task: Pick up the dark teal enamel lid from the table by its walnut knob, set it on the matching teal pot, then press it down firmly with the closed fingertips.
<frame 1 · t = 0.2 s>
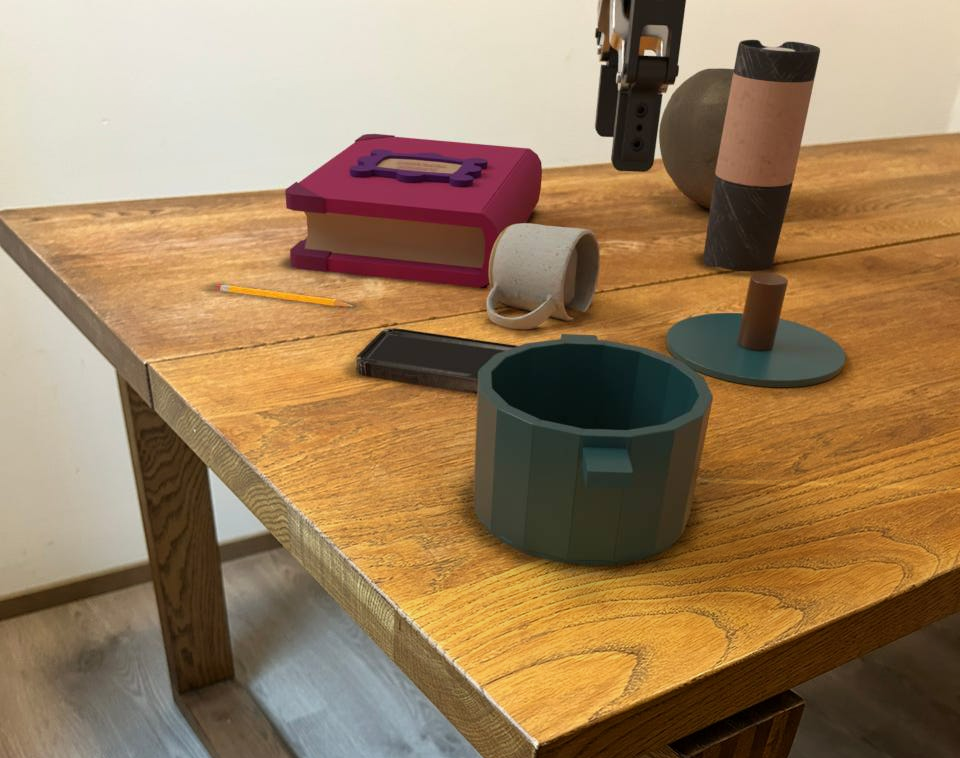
hand: (621, 151, 57), 20 cm above the table, tool pointing down, fingers open, 8 cm apart
ceramic mug: (535, 318, 91), on the table
phone: (457, 372, 80), on the table
pencil: (284, 303, 92), on the table
book: (423, 240, 108), on the table
brown textured sphere: (706, 209, 122), on the table
lid: (753, 351, 84), point 1 cm above the table
pot: (579, 508, 64), on the table
travel mug: (736, 267, 105), on the table
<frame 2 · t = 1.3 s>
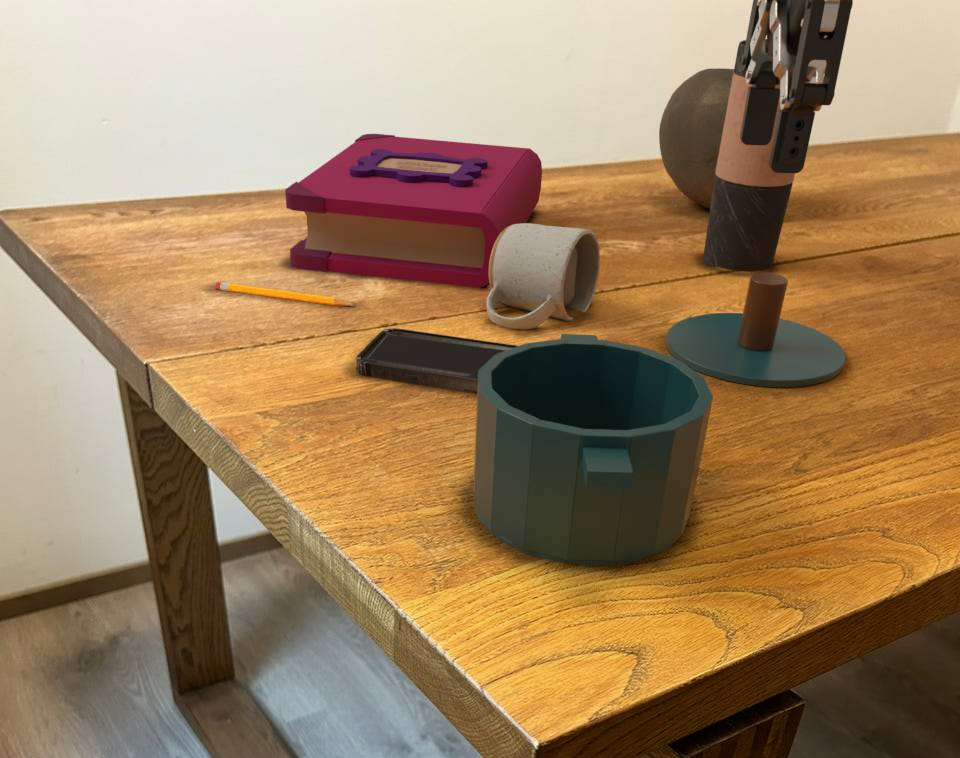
hand: (768, 157, 71), 17 cm above the table, tool pointing down, fingers open, 8 cm apart
nothing on the table moved.
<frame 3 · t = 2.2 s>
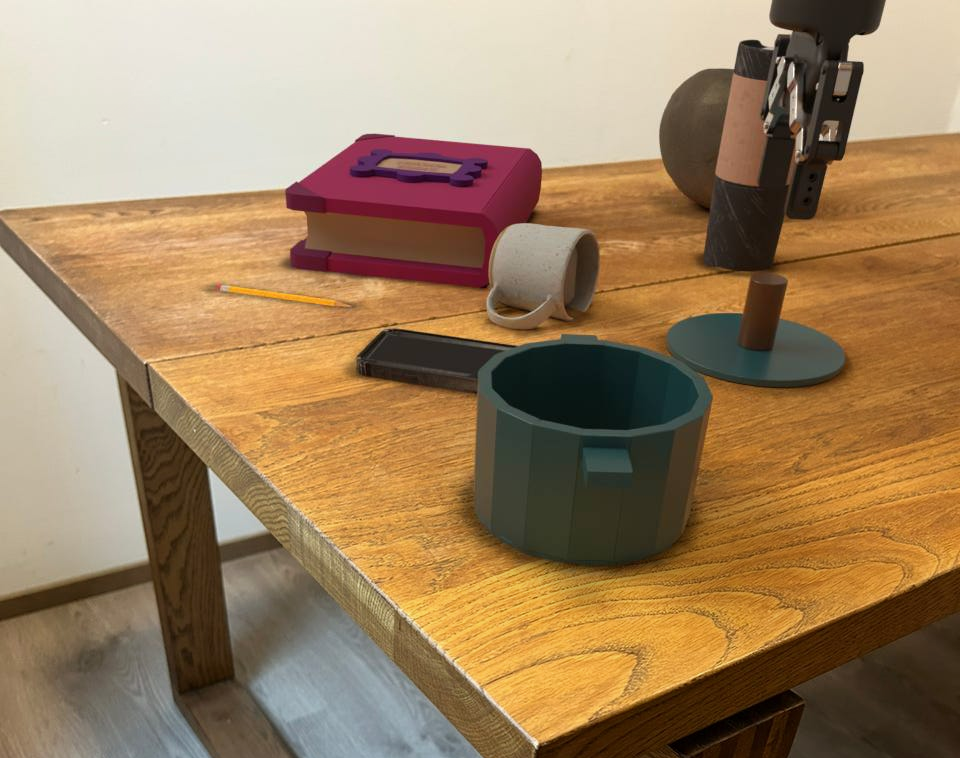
hand: (783, 202, 77), 13 cm above the table, tool pointing down, fingers open, 8 cm apart
nothing on the table moved.
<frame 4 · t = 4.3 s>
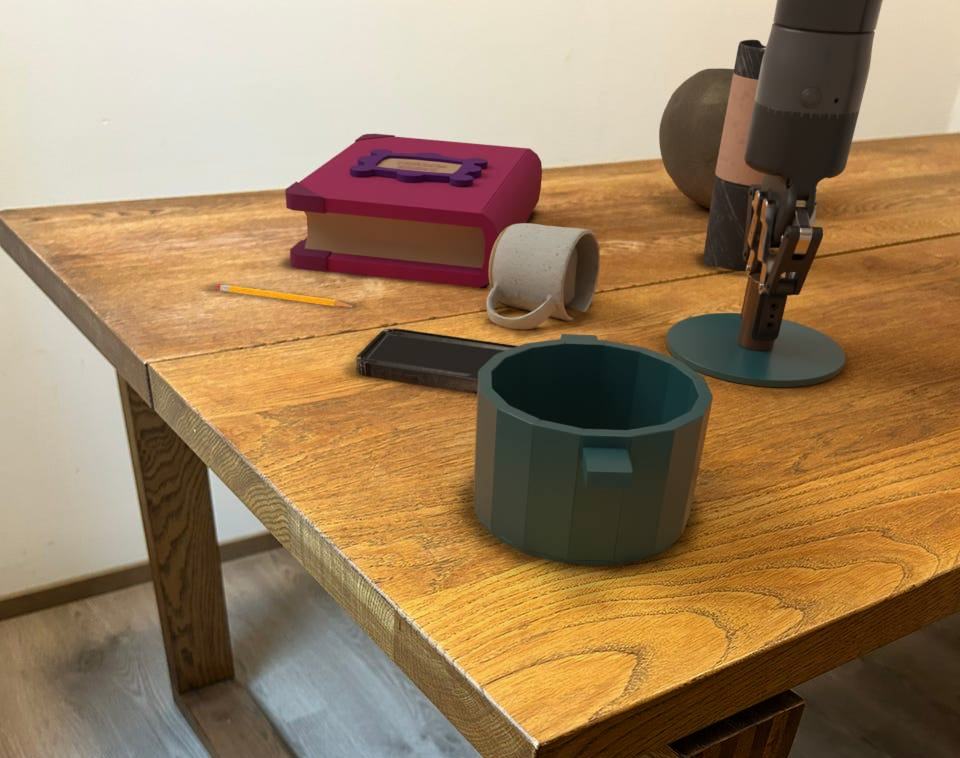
hand: (758, 329, 83), 2 cm above the table, tool pointing down, fingers closed on lid, 3 cm apart
lid: (753, 351, 84), point 1 cm above the table, touching gripper
everything else where it was.
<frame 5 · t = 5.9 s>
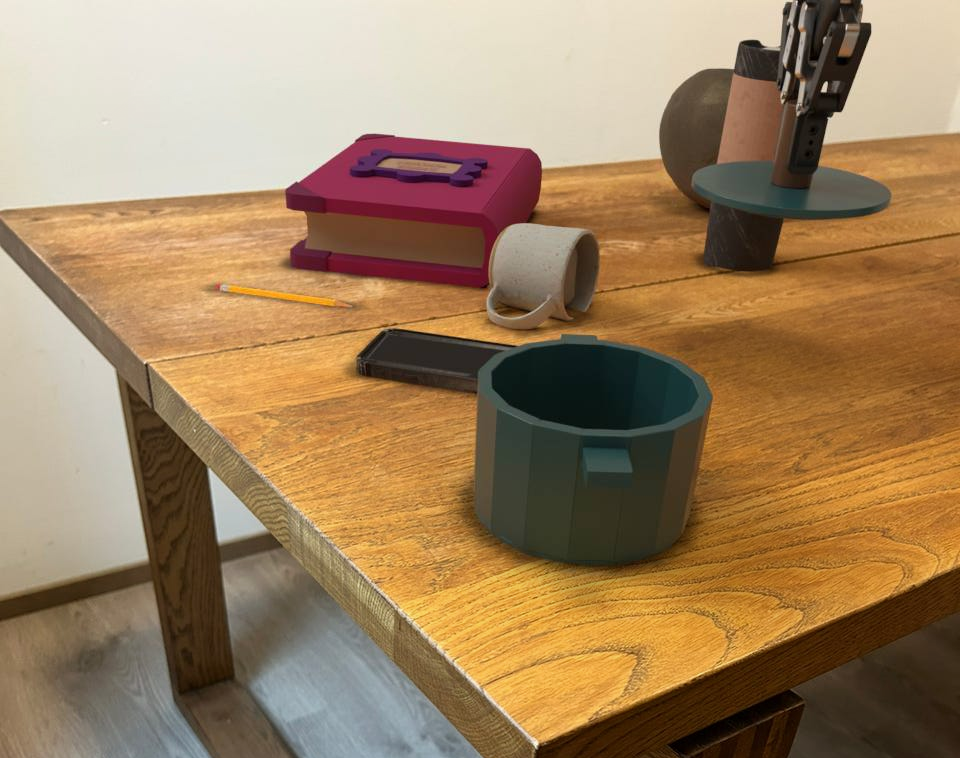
hand: (794, 165, 75), 15 cm above the table, tool pointing down, fingers closed on lid, 3 cm apart
lid: (788, 192, 77), point 13 cm above the table, touching gripper
everything else where it was.
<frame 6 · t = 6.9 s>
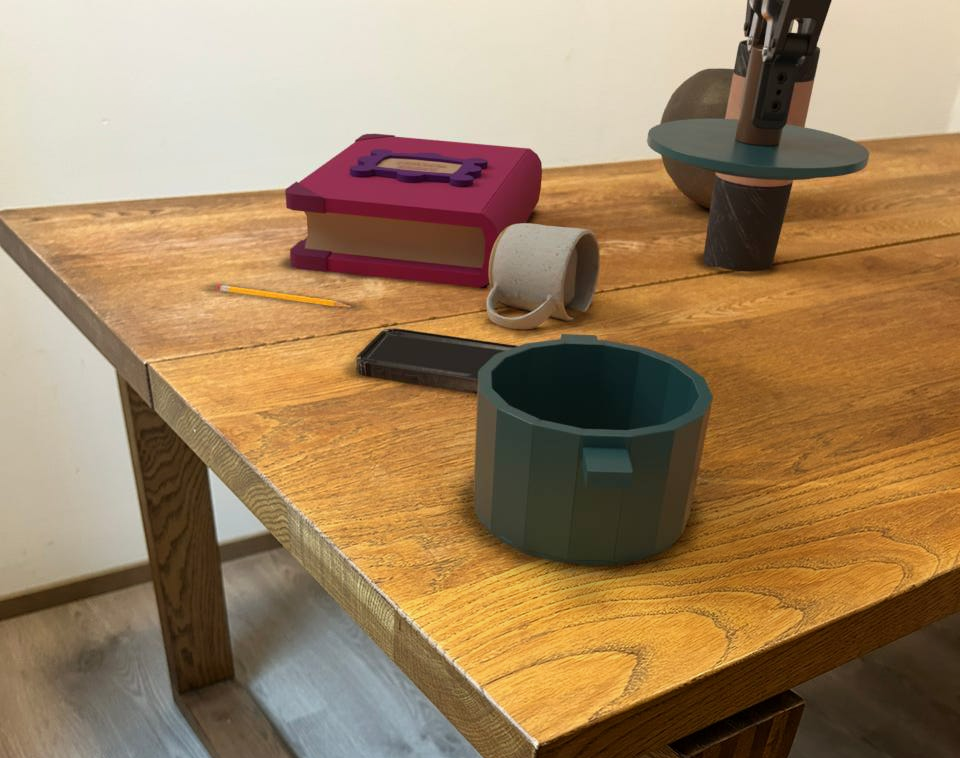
hand: (761, 120, 67), 19 cm above the table, tool pointing down, fingers closed on lid, 3 cm apart
lid: (755, 150, 68), point 17 cm above the table, touching gripper
everything else where it was.
when the fingers open (10 cm above the table, at t = 11.1 s): lid stays where it is, resting on pot.
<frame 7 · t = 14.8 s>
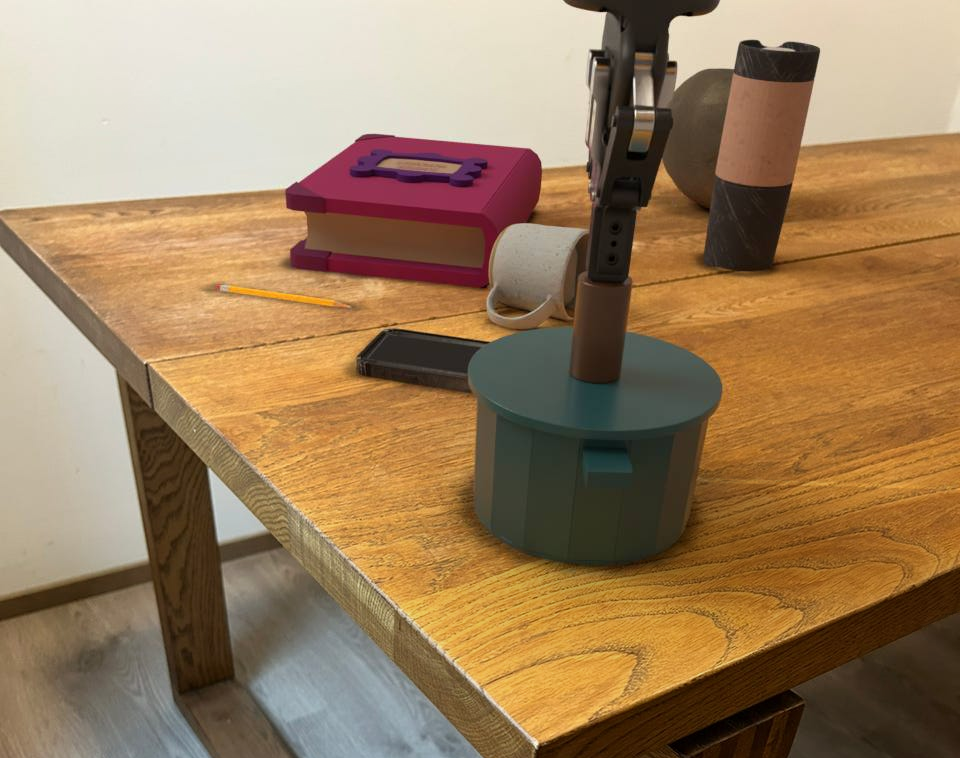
hand: (605, 277, 55), 15 cm above the table, tool pointing down, fingers closed
lid: (593, 382, 59), point 8 cm above the table, touching gripper, pot
everything else where it was.
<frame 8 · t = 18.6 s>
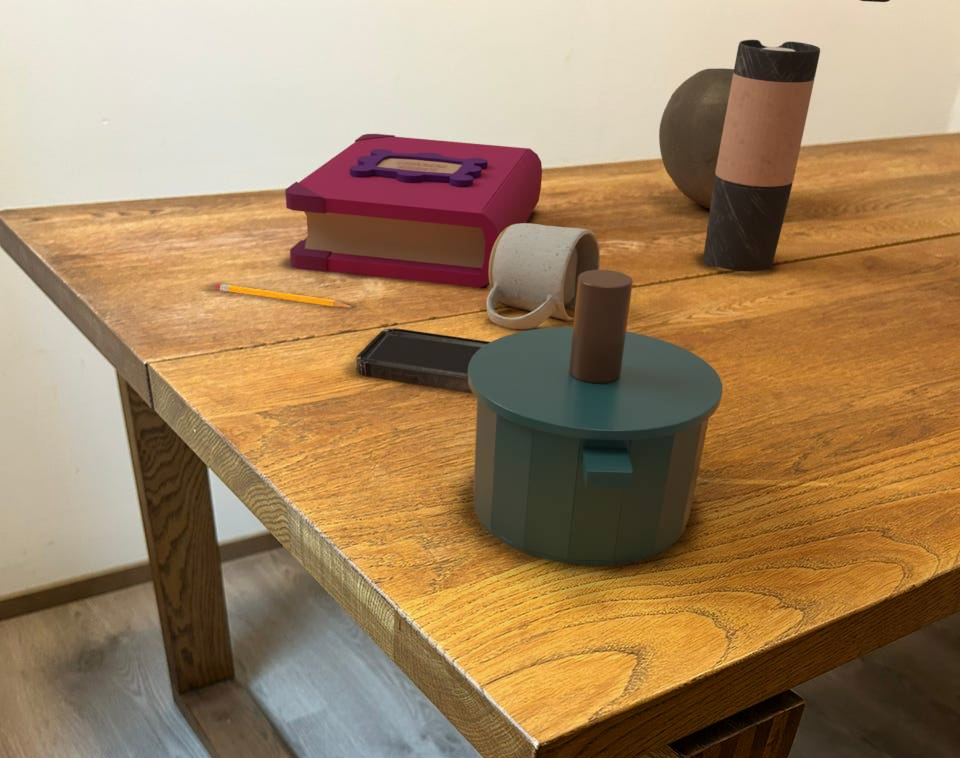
lid: (593, 382, 59), point 8 cm above the table, touching pot
everything else where it was.
at the end: lid 0.0 cm off-centre on the pot, point 8.5 cm above the pot's base; lid tilted 0°; the gripper is holding nothing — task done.
